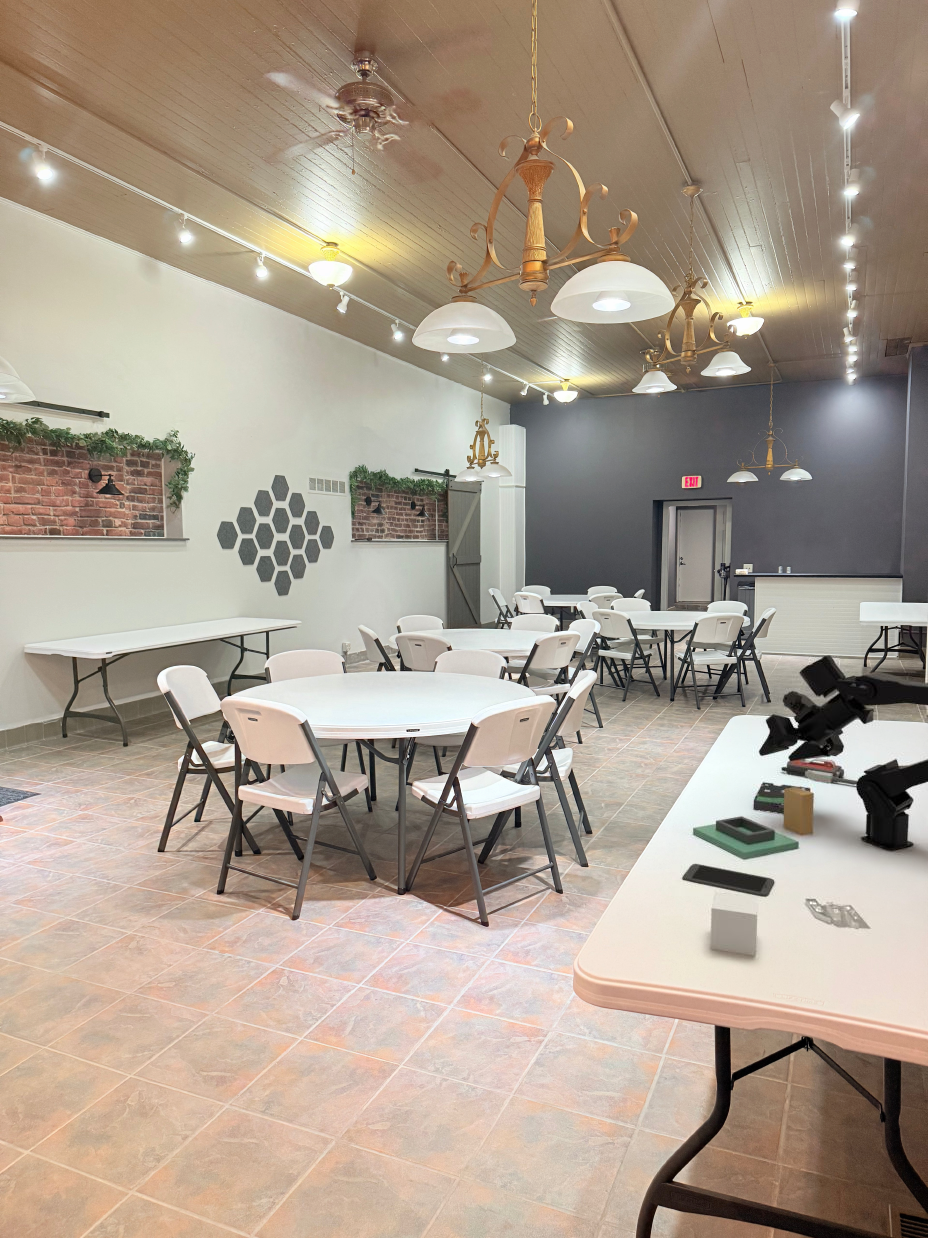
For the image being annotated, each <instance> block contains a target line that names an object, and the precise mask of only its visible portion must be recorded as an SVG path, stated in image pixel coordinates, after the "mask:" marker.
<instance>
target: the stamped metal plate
mask: <svg viewBox="0 0 928 1238" xmlns="http://www.w3.org/2000/svg"><path fill="white" fill-rule="evenodd" d="M804 900H805V905H806V907H807V908H808V910H809V912H811V914H812V915H813V917H815V918H816V919H817V920H819V921H822V922H825V923H827V924H829V925H830V926H834V927H836V928H839V929H861V930H863V929H864V930H865V929H866V930H871V927H870V926H869V924H868V923H867V922H866V921H865V920H864V918H863V917H862V916H861V915H860V914H859V913H858V911H856V909H855V908H854V907H853V906H852V905H851V904H838V903H837V904H836V903H835V904H834V903H833V902H832V901H831V902H830V901H827V902H826V903H819V902H818V900H817V899H816V898H805V899H804Z"/></svg>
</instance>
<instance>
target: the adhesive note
mask: <svg viewBox="0 0 928 1238" xmlns="http://www.w3.org/2000/svg"><path fill="white" fill-rule="evenodd" d="M758 897H759V896H755V895H748V894H747V895H745V894H741V893H739V894H738V893H733V892H732V893H731V892H723V891H717V890H714V892H713V897H712V903H711V913H710V914H711V918H710V949H712V950H718V951H723V952H724V951H725V952H729V953H730V952H731V953H736V954H742V955H748V956H754V957H755V956H756V955H757V954H756V953H757V939H758V938H757V936H758V905H759V903H758V902H759V898H758Z"/></svg>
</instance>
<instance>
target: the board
mask: <svg viewBox="0 0 928 1238" xmlns="http://www.w3.org/2000/svg"><path fill="white" fill-rule="evenodd" d="M692 835H695V836H697V837H699V838H700V839H703V840H705V841H706V842H709V843H711V844H712V845H715V846H717V847H719V848H721V849H723V850H725V851H727V852H728V853H731V854H733V855H735V856H737V857H739V858H742V860H747V859H752V858H755V857H756V858H757V857H760V856H761V857H762V856H766V855H771V854H772V855H773V854H777V853H781V852H785V851H790V850H795V849H799V848H800V847H799V846H800V841H799V840H796V839H793V838H791V837H788V836H786V835H784V834H782V833H779V832H778V831H776V830H775V829H772V828H770V827H769V826H766V825H764V824H761V823H759V822H756V821H754V820H752V819H749V818H747V817H745V816H743V815H740V816H736V817H730V818H724V819H718V820H715V823H714V824H707V825H703V826H702V825H701V826H697V827H693V828H692ZM751 857H752V858H751Z"/></svg>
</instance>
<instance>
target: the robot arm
mask: <svg viewBox="0 0 928 1238" xmlns="http://www.w3.org/2000/svg"><path fill="white" fill-rule="evenodd" d="M799 675H800V676H801V678H802V680H803V681H804V682H805V683H806V684H807V685H808V687H809V688H810V690H811V691H812V692H813V693H814V694H815V696H816V697H819V698H820V697H823V698H824V699H827V698H829V697H831V696H833V695H835V696H833V697H832V698H830V699H829V700H827V701H826V702H825V703H823V704H821V705H817V704H816V703H815V702H814V701H813V700H811V698H810V697H808V696H807V695H805V694H804V693H800V692H798V691H795V690H794V691H793V690H791V691H789V692H788V693H786V694H783V698H782V703H783V706H784V707H785V708H788V709H789V710H790V711H791V712H792V713H793V714H794V715H795V716H793V719H794V721H795V723H797V727H794V725H793V722H792V721H791V719H790V717H787V716H782V715H778V714H774V713H773V714H771V715H770V716H769V717H767V718H766V719H765V723H766V725H767V728H768V730H769V734H768V735H767V737H766V739H765V740H764V742H763V743H762V746H761V747H760V748H759V750H758V753H759V756H761V757H764V756H769V755H771V754H776V753H779V752H783V751H787V750H790V747H794V746H795V745H796V744H798V741H799V742H803V743H801V744H800V745H799V746H798V747H797V748H795V750H793V751H792V752H791V753H790V754H789V755H788V760H789V761H797V760H804V759H805V760H810V759H812V760H813V759H816V758H820V759H822V758H830V757H838V756H839V755H840V754H842V753H843V752H844V750H845V749H844V748H845V745H844V743H843V741H842V738H841V737H840V736H841V735H842V734H844V731H843V729H844V728H846V727H847V726H848V725H850V724H852V723H853V722H854V721H856V720H857V719H859V720H860V722H861V723H862V724H863V725H866V724H870V723H872V722H874V711H875V709H874V708H870V706H885V705H895V704H911V705H912V704H913V705H921V706H928V682H923V681H922V682H920V681H912V680H909V679H906V678H903V677H900V676H898V675H893V674H890V673H886V672H882V671H874V672H869V673H866V674H862V675H850V676H846V675H845V674H844V672H843V671H842V670H841V668H840V667H839V666H838V665H837V663H836V661H835V659H834V658H833V657H832V655H830V654H829V655H828V654H827V655H824V656H823V657H821V658H819V659H818V660H816V661H814V662H812V663H811V664H810V663H809V664H808V665H806V666H805V667H803V668H802V669H801V670H800V671H799ZM836 693H837V694H836ZM867 706H868V707H867ZM863 773H864V774H863V775H862V776H860V777H858V779H857V780H856V781H857V784H855V787H856V791H857V794H858V797H860V799H861V800H862V802H863V806H864V809H865V812H866V813H867V814H866V817H865V818H866V821H865V835H863V836H861V837H860V839H861V840H862V841H863V842H866V843H870V844H872V845H874V846H877V847H880V848H883V849H885V850H887V851H894V850H899V849H904V848H908V847H913V846H914V842H913V841H910V840H909V821H910V819H909V818H910V814H909V813H906V812H905V811H907V810H909V809H911V808H912V805H913V803H914V798H913V797H912V796H911V795H910V793H909V792H908V791H907V790H909V789H911V788H912V787H916V786H919V785H923V784H926V783H928V758H927V759H924V760H922V761H918V762H915V763H911V764H909V765H907V764H906V765H899V762H898V759H897V758H895V759H892V760H891V761H889V762H887V763H884V764H877V765H874V766H872V767H870V768H868V769H865V770H864V771H863Z"/></svg>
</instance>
